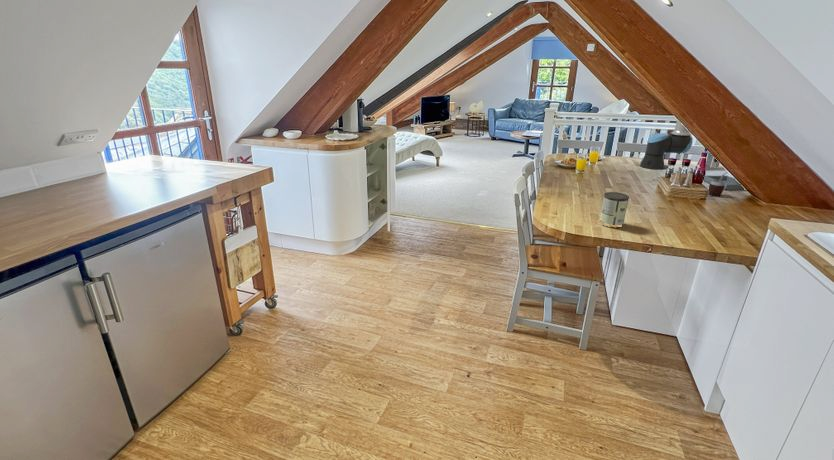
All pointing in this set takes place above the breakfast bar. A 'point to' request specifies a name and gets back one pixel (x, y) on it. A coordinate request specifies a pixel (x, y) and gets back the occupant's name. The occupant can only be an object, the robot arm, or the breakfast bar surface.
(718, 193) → the mate gourd
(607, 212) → the coffee can
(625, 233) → the breakfast bar surface
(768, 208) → the breakfast bar surface
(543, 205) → the breakfast bar surface
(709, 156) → the medicine box
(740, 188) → the sorting tray
